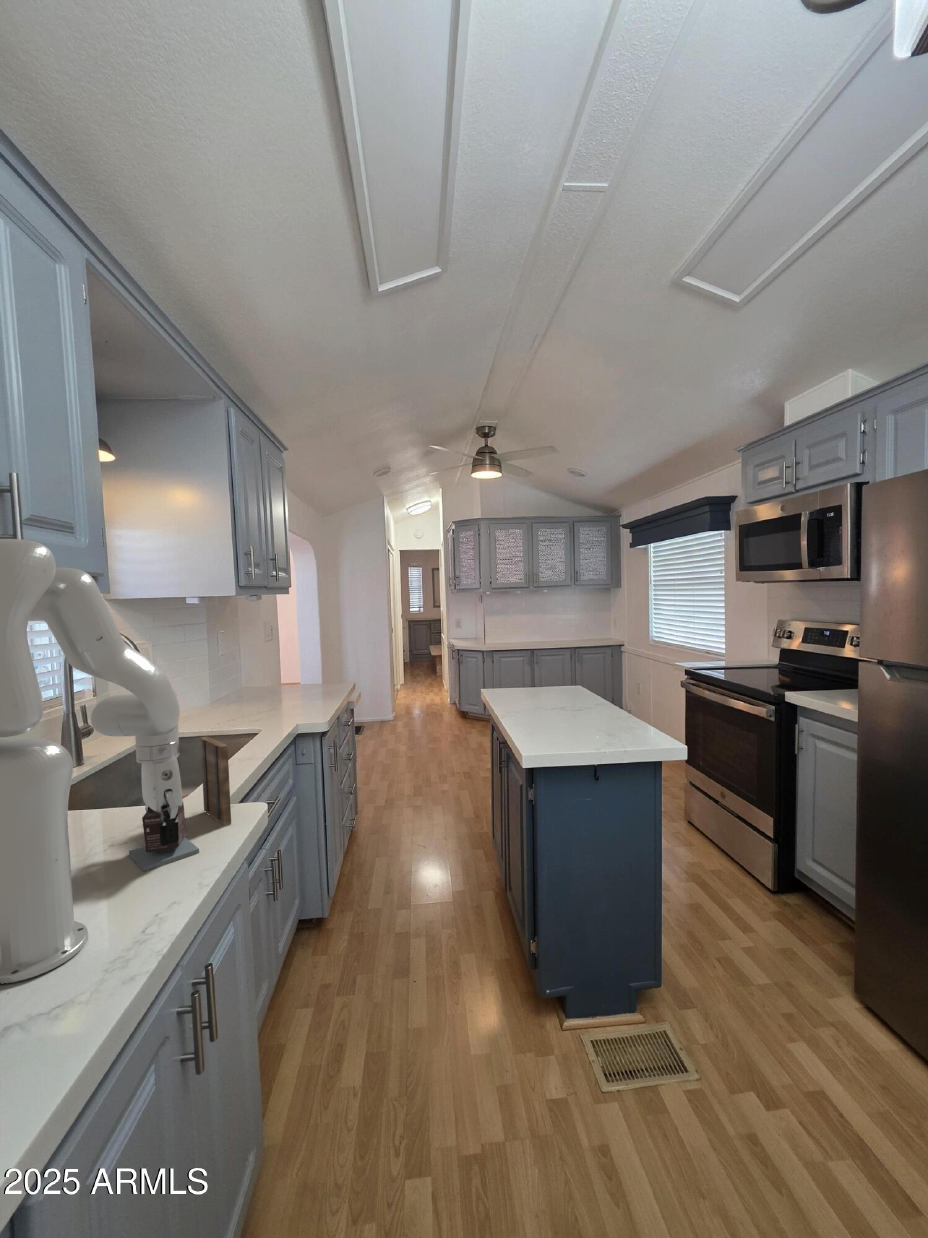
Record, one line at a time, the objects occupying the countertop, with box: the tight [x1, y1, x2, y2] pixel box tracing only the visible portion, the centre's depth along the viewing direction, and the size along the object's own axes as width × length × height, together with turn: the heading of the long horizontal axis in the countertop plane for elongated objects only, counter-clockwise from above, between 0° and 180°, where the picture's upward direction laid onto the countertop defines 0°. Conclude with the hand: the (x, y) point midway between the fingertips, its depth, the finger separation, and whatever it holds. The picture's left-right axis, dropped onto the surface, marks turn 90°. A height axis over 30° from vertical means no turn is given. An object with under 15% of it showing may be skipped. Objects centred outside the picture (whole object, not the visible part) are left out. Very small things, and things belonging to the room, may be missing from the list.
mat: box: [128, 836, 200, 872], centre depth 110 cm, size 10×10×1 cm
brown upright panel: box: [200, 736, 232, 827], centre depth 123 cm, size 12×12×18 cm
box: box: [141, 803, 187, 852], centre depth 110 cm, size 6×6×7 cm
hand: (162, 836), depth 109 cm, fingers closed on box, 8 cm apart
